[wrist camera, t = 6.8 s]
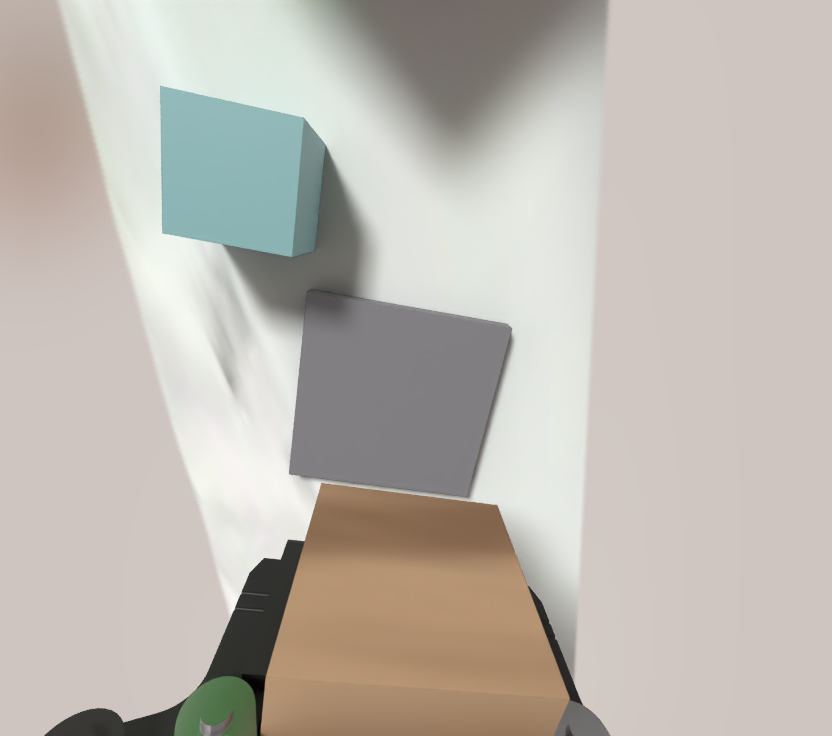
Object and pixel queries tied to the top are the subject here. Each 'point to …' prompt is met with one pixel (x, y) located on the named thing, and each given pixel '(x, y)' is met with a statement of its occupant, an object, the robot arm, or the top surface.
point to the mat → (393, 393)
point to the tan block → (410, 626)
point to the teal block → (239, 174)
